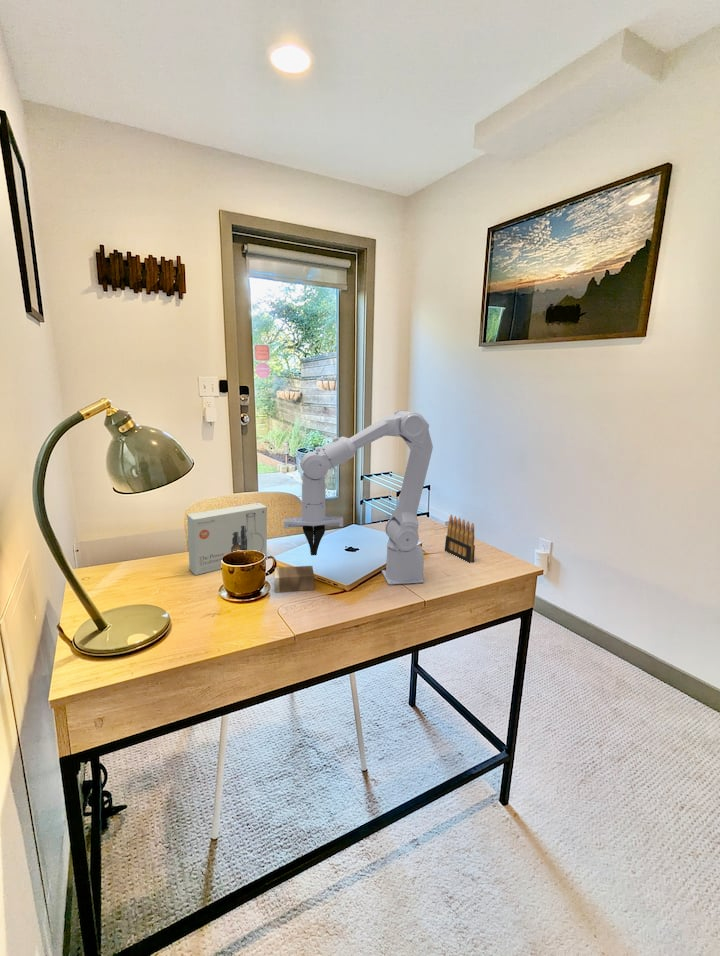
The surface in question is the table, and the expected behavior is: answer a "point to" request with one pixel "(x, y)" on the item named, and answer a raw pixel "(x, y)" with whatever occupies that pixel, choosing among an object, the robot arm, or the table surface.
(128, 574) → the table surface
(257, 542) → the skincare box
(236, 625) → the table surface
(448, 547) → the ammunition clip
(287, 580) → the walnut block
